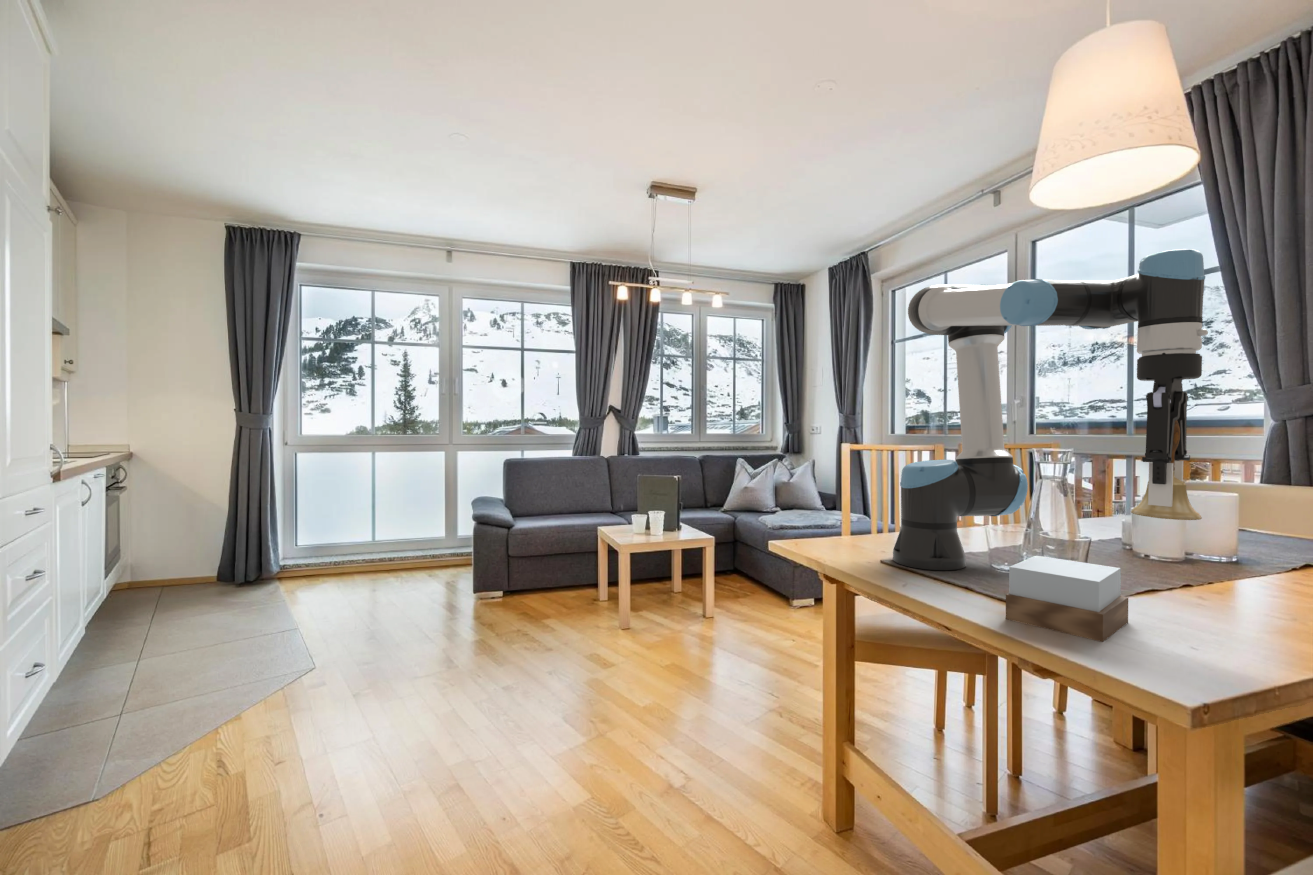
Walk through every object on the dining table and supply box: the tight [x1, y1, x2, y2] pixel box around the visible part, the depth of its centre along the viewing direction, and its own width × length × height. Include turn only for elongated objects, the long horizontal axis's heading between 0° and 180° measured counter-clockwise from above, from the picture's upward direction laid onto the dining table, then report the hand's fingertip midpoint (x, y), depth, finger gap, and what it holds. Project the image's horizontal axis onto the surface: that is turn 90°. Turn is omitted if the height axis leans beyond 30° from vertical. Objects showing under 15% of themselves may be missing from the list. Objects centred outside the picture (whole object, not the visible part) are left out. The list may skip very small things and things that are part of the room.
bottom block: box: [1005, 592, 1129, 643], centre depth 94 cm, size 13×13×4 cm
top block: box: [1008, 555, 1122, 612], centre depth 94 cm, size 12×12×4 cm
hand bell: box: [1130, 420, 1203, 521], centre depth 90 cm, size 8×8×16 cm
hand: (1165, 503), depth 90 cm, fingers closed on hand bell, 6 cm apart
